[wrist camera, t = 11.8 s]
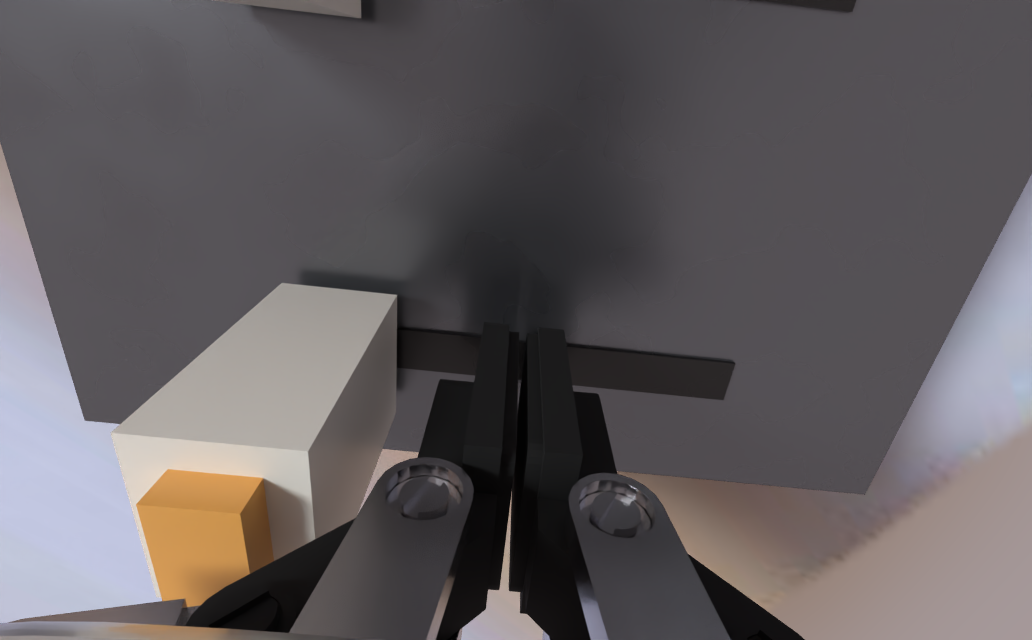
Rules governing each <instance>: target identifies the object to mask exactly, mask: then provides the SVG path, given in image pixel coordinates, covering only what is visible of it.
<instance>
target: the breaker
mask: <svg viewBox="0 0 1032 640" xmlns="http://www.w3.org/2000/svg"><path fill="white" fill-rule="evenodd" d="M214 1H220V2H228V3H236V4H245V5H253V6H261V7H270V8H278V9H286V10H295V11H303V12H311V13H320V14H328V15H336V16H345V17H353V18H361V0H214Z"/></svg>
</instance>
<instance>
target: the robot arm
mask: <svg viewBox="0 0 1032 640" xmlns="http://www.w3.org/2000/svg"><path fill="white" fill-rule="evenodd" d="M509 328H510V324H499V323H489V322H484V325H483V331H482V337H481V343H480V349H479V356H478V362H477V368H476V374H475V380H474V382H468V381H457V380H446V379H440V380H439V383H438V386H437V389H436V393H435V397H434V400H433V404H432V407H431V411H430V415H429V418H428V422H427V425H426V429H425V433H424V436H423V440H422V443H421V447H420V451H419V454H418V458H414V459H409V460H406V461H403V462H400V463H398V464H396V465H394V466H393V467H391V468H390V469H388V470H387V471H385V473H384V474H383V475H382V476H381V477H380V479H379V480H378V481H377V483H376V484H375V486H374V488H373V489H372V491H371V493H370V495H369V496H368V498H367V500H366V501H365V503H364V505H363V507H362V508H361V510H360V512H359V513H358V515H357V517H356V518H354V519H352V520H351V521H349V522H347V523H345V524H343V525H341V526H339V527H337V528H335V529H334V530H332V531H330V532H328V533H326V534H324V535H322V536H320V537H318V538H317V539H315V540H313V541H311V542H309V543H307V544H305V545H303V546H301V547H300V548H298V549H296V550H294V551H292V552H290V553H288V554H286V555H284V556H283V557H281V558H279V559H277V560H275V561H273V562H271V563H269V564H267V565H266V566H264V567H262V568H260V569H258V570H256V571H254V572H252V573H250V574H249V575H247V576H245V577H243V578H241V579H239V580H237V581H235V582H233V583H232V584H230V585H228V586H226V587H224V588H223V589H221V590H220V591H218V592H217V593H215V594H214V595H212V596H211V597H209V598H208V599H207V600H206V601H205V602H204V603H203V604H202V605H200V606H192V607H187V604H186V600H185V599H177V600H169V601H161V602H153V603H145V604H137V605H129V606H121V607H113V608H105V609H97V610H89V611H81V612H73V613H65V614H57V615H49V616H41V617H33V618H25V619H20V620H16V621H12V622H9V623H0V640H461V635H462V628H463V627H464V626H465V625H466V624H468V623H469V622H470V621H471V620H473V619H474V618H475V617H476V616H478V615H479V614H480V613H481V612H483V611H484V610H485V609H486V602H487V593H488V589H491V590H499V588H500V580H501V572H502V564H503V556H504V548H505V540H506V532H507V524H508V516H509V508H510V500H511V492H512V504H511V535H510V567H509V591H515V592H520V613H524V614H528V615H529V616H530V617H531V618H532V619H533V620H534V621H535V622H536V623H537V624H538V625H539V626H540V627H541V628H542V629H543V630H544V631H543V640H804V639H803V638H802V637H801V636H800V635H799V634H798V633H796V632H795V631H794V630H792V629H791V628H789V627H788V626H787V625H785V624H784V623H783V622H781V621H780V620H778V619H777V618H776V617H774V616H773V615H772V614H770V613H769V612H767V611H766V610H765V609H763V608H762V607H760V606H759V605H758V604H756V603H755V602H754V601H752V600H751V599H749V598H748V597H747V596H745V595H744V594H743V593H741V592H740V591H738V590H737V589H736V588H734V587H733V586H731V585H730V584H729V583H727V582H726V581H725V580H723V579H722V578H720V577H719V576H718V575H716V574H715V573H714V572H712V571H711V570H709V569H708V568H707V567H705V566H704V565H702V564H701V563H700V562H698V561H697V560H696V559H694V558H693V557H691V556H690V555H689V554H687V552H686V550H685V548H684V546H683V544H682V542H681V540H680V538H679V536H678V534H677V532H676V530H675V528H674V526H673V524H672V522H671V520H670V518H669V517H668V515H667V513H666V511H665V509H664V507H663V505H662V503H661V502H660V501H659V499H658V498H657V496H656V495H655V494H654V493H653V492H652V491H650V490H649V489H648V488H647V487H646V486H645V485H643V484H641V483H639V482H637V481H635V480H633V479H632V478H629V477H625V476H622V475H619V474H617V471H616V466H615V462H614V458H613V453H612V449H611V444H610V440H609V435H608V431H607V427H606V422H605V418H604V413H603V409H602V405H601V400H600V397H599V394H597V393H587V392H576V391H573V385H572V379H571V372H570V365H569V359H568V352H567V345H566V339H565V332H564V330H562V329H551V328H541V327H538V329H537V334H532V333H527V337H526V345H525V354H524V362H523V370H522V378H521V387H520V395H519V403H518V368H519V332H511V331H509ZM517 411H518V412H517Z"/></svg>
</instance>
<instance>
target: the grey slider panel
mask: <svg viewBox="0 0 1032 640" xmlns="http://www.w3.org/2000/svg"><path fill="white" fill-rule="evenodd" d="M0 142H1V146H2V149H3V152H4V156H5V159H6V162H7V166H8V169H9V172H10V175H11V179H12V182H13V185H14V189H15V192H16V195H17V198H18V202H19V205H20V208H21V212H22V215H23V218H24V222H25V225H26V228H27V231H28V235H29V238H30V241H31V245H32V248H33V251H34V254H35V258H36V261H37V264H38V268H39V271H40V274H41V278H42V281H43V284H44V287H45V291H46V294H47V297H48V301H49V304H50V307H51V311H52V314H53V317H54V320H55V324H56V327H57V330H58V334H59V337H60V340H61V343H62V347H63V350H64V353H65V357H66V360H67V363H68V367H69V370H70V373H71V376H72V380H73V383H74V386H75V390H76V393H77V396H78V399H79V403H80V406H81V409H82V413H83V416H84V419H85V421H95V422H106V423H116V424H121V423H122V422H123V421H125V420H126V419H127V418H128V417H129V416H130V415H131V414H133V413H134V412H135V411H136V410H137V409H138V408H139V407H141V406H142V405H143V404H144V403H145V402H146V401H147V400H149V399H150V398H151V397H152V396H153V395H154V394H155V393H157V392H158V391H159V390H160V389H161V388H162V387H163V386H165V385H166V384H167V383H168V382H169V381H170V380H171V379H173V378H174V377H175V376H176V375H177V374H178V373H179V372H181V371H182V370H183V369H184V368H185V367H186V366H187V365H189V364H190V363H191V362H192V361H193V360H194V359H195V358H197V357H198V356H199V355H200V354H201V353H202V352H203V351H205V350H206V349H207V348H208V347H209V346H210V345H211V344H213V343H214V342H215V341H216V340H217V339H218V338H219V337H221V336H222V335H223V334H224V333H225V332H226V331H227V330H229V329H230V328H231V327H232V326H233V325H234V324H235V323H237V322H238V321H239V320H240V319H241V318H242V317H243V316H245V315H246V314H247V313H248V312H249V311H250V310H251V309H253V308H254V307H255V306H256V305H257V304H258V303H259V302H261V301H262V300H263V299H264V298H265V297H266V296H267V295H269V294H270V293H271V292H272V291H273V290H274V289H275V288H277V287H278V286H279V285H280V284H281V283H288V284H297V285H307V286H317V287H326V288H336V289H345V290H355V291H365V292H374V293H384V294H393V295H397V367H396V414H395V416H394V419H393V422H392V424H391V427H390V430H389V432H388V435H387V438H386V440H385V443H384V446H383V448H382V449H391V450H401V451H412V452H419V451H420V447H421V443H422V440H423V436H424V433H425V429H426V425H427V422H428V418H429V415H430V411H431V407H432V404H433V400H434V397H435V393H436V389H437V386H438V383H439V380H440V379H446V380H457V381H468V382H474V380H475V374H476V368H477V362H478V356H479V349H480V343H481V337H482V331H483V325H484V322H489V323H499V324H510V328H509V331H511V332H519V368H518V403H519V395H520V387H521V378H522V370H523V362H524V354H525V345H526V337H527V333H532V334H537V329H538V327H541V328H551V329H562V330H564V332H565V339H566V345H567V352H568V359H569V365H570V372H571V379H572V385H573V391H576V392H587V393H597V394H599V397H600V400H601V405H602V409H603V413H604V418H605V422H606V427H607V431H608V435H609V440H610V444H611V449H612V453H613V458H614V462H615V466H616V471H623V472H633V473H644V474H654V475H665V476H675V477H686V478H697V479H707V480H718V481H728V482H739V483H749V484H760V485H770V486H781V487H791V488H802V489H813V490H823V491H834V492H844V493H855V494H865V493H866V491H867V489H868V487H869V485H870V483H871V482H872V480H873V478H874V476H875V474H876V472H877V470H878V468H879V466H880V464H881V462H882V460H883V458H884V457H885V455H886V453H887V451H888V449H889V447H890V445H891V443H892V441H893V439H894V437H895V435H896V433H897V431H898V430H899V428H900V426H901V424H902V422H903V420H904V418H905V416H906V414H907V412H908V410H909V408H910V406H911V405H912V403H913V401H914V399H915V397H916V395H917V393H918V391H919V389H920V387H921V385H922V383H923V381H924V380H925V378H926V376H927V374H928V372H929V370H930V368H931V366H932V364H933V362H934V360H935V358H936V356H937V355H938V353H939V351H940V349H941V347H942V345H943V343H944V341H945V339H946V337H947V335H948V333H949V331H950V329H951V328H952V326H953V324H954V322H955V320H956V318H957V316H958V314H959V312H960V310H961V308H962V306H963V304H964V303H965V301H966V299H967V297H968V295H969V293H970V291H971V289H972V287H973V285H974V283H975V281H976V279H977V278H978V276H979V274H980V272H981V270H982V268H983V266H984V264H985V262H986V260H987V258H988V256H989V254H990V253H991V251H992V249H993V247H994V245H995V243H996V241H997V239H998V237H999V235H1000V233H1001V231H1002V229H1003V227H1004V226H1005V224H1006V222H1007V220H1008V218H1009V216H1010V214H1011V212H1012V210H1013V208H1014V206H1015V204H1016V202H1017V201H1018V199H1019V197H1020V195H1021V193H1022V191H1023V189H1024V187H1025V185H1026V183H1027V181H1028V179H1029V177H1030V176H1031V174H1032V0H361V18H353V17H345V16H336V15H328V14H320V13H311V12H303V11H295V10H286V9H278V8H270V7H261V6H253V5H245V4H236V3H228V2H220V1H214V0H0ZM517 412H518V411H517Z"/></svg>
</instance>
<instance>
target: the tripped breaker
mask: <svg viewBox="0 0 1032 640" xmlns="http://www.w3.org/2000/svg"><path fill="white" fill-rule="evenodd" d="M396 367H397V295H393V294H384V293H374V292H365V291H355V290H345V289H336V288H326V287H317V286H307V285H297V284H288V283H281V284H280V285H279V286H278V287H277V288H275V289H274V290H273V291H272V292H271V293H270V294H269V295H267V296H266V297H265V298H264V299H263V300H262V301H261V302H259V303H258V304H257V305H256V306H255V307H254V308H253V309H251V310H250V311H249V312H248V313H247V314H246V315H245V316H243V317H242V318H241V319H240V320H239V321H238V322H237V323H235V324H234V325H233V326H232V327H231V328H230V329H229V330H227V331H226V332H225V333H224V334H223V335H222V336H221V337H219V338H218V339H217V340H216V341H215V342H214V343H213V344H211V345H210V346H209V347H208V348H207V349H206V350H205V351H203V352H202V353H201V354H200V355H199V356H198V357H197V358H195V359H194V360H193V361H192V362H191V363H190V364H189V365H187V366H186V367H185V368H184V369H183V370H182V371H181V372H179V373H178V374H177V375H176V376H175V377H174V378H173V379H171V380H170V381H169V382H168V383H167V384H166V385H165V386H163V387H162V388H161V389H160V390H159V391H158V392H157V393H155V394H154V395H153V396H152V397H151V398H150V399H149V400H147V401H146V402H145V403H144V404H143V405H142V406H141V407H139V408H138V409H137V410H136V411H135V412H134V413H133V414H131V415H130V416H129V417H128V418H127V419H126V420H125V421H123V422H122V423H121V424H120V425H119V426H118V427H117V428H115V429H114V430H113V431H112V432H111V436H112V440H113V443H114V447H115V451H116V454H117V458H118V461H119V465H120V468H121V472H122V475H123V479H124V483H125V486H126V490H127V493H128V497H129V500H130V504H131V507H132V511H133V515H134V518H135V522H136V525H137V529H138V532H139V536H140V539H141V543H142V547H143V550H144V554H145V557H146V561H147V564H148V568H149V571H150V575H151V579H152V582H153V586H154V589H155V593H156V596H157V597H161V598H162V601H169V600H177V599H185V600H186V604H187V607H192V606H200V605H202V604H203V603H204V602H205V601H206V600H207V599H208V598H209V597H211V596H212V595H214V594H215V593H217V592H218V591H220V590H221V589H223V588H224V587H226V586H228V585H230V584H232V583H233V582H235V581H237V580H239V579H241V578H243V577H245V576H247V575H249V574H250V573H252V572H254V571H256V570H258V569H260V568H262V567H264V566H266V565H267V564H269V563H271V562H273V561H275V560H277V559H279V558H281V557H283V556H284V555H286V554H288V553H290V552H292V551H294V550H296V549H298V548H300V547H301V546H303V545H305V544H307V543H309V542H311V541H313V540H315V539H317V538H318V537H320V536H322V535H324V534H326V533H328V532H330V531H332V530H334V529H335V528H337V527H339V526H341V525H343V524H345V523H347V522H349V521H351V520H352V519H354V518H356V517H357V515H358V512H359V509H360V507H361V504H362V501H363V499H364V496H365V493H366V491H367V488H368V485H369V483H370V480H371V477H372V475H373V472H374V469H375V467H376V464H377V462H378V459H379V456H380V454H381V451H382V448H383V446H384V443H385V440H386V438H387V435H388V432H389V430H390V427H391V424H392V422H393V419H394V416H395V414H396Z"/></svg>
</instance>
